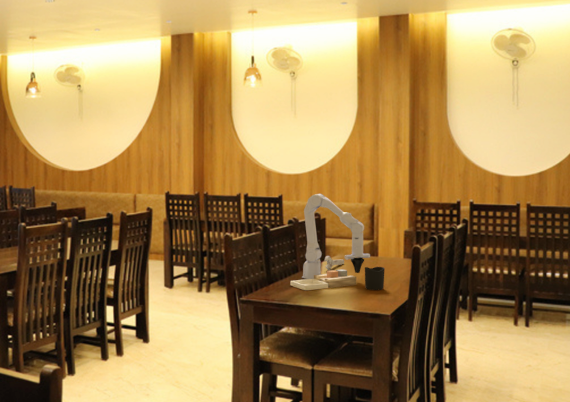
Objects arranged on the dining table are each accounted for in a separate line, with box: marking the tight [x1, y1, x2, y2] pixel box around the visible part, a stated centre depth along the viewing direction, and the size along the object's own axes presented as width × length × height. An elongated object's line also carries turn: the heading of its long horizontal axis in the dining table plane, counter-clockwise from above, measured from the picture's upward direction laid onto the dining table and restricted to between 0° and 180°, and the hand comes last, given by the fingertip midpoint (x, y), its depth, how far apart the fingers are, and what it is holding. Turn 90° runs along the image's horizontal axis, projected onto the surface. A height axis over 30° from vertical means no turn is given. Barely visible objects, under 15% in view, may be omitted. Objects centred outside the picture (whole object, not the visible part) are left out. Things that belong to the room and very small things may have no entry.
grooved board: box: [314, 273, 357, 289], centre depth 319 cm, size 14×16×4 cm
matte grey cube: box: [335, 268, 348, 277], centre depth 321 cm, size 4×4×4 cm
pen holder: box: [364, 266, 385, 291], centre depth 307 cm, size 9×9×10 cm
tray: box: [290, 278, 328, 291], centre depth 312 cm, size 14×13×2 cm
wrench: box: [324, 255, 345, 271], centre depth 369 cm, size 8×2×30 cm
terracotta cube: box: [326, 269, 338, 278], centre depth 318 cm, size 4×4×4 cm
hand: (357, 272), depth 326 cm, fingers closed
